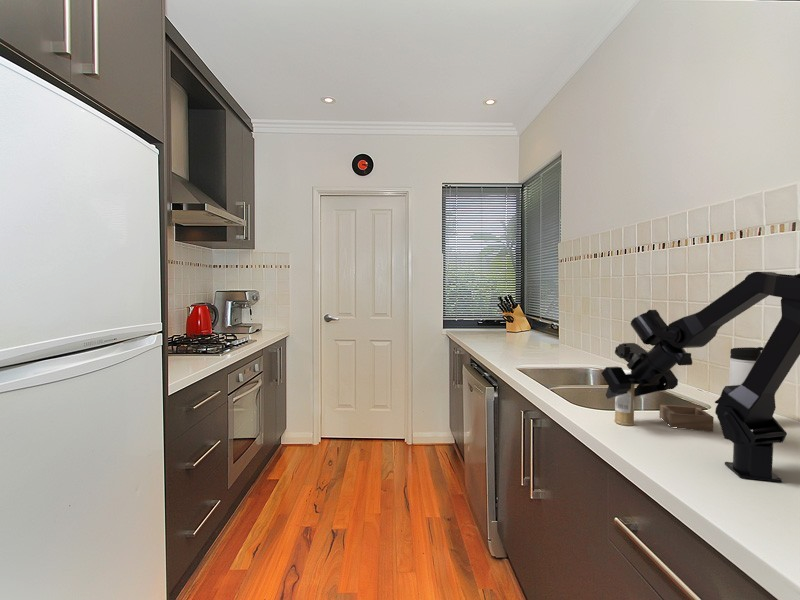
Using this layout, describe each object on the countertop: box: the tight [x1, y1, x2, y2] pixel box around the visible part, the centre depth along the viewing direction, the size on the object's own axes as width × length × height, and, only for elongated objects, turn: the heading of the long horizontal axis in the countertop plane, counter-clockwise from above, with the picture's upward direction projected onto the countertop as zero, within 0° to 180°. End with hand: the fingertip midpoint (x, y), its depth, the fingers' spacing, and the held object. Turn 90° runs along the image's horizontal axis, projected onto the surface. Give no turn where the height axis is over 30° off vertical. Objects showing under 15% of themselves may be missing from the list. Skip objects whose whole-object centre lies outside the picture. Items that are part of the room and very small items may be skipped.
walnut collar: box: [659, 404, 714, 432], centre depth 110 cm, size 9×9×4 cm
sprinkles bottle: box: [613, 369, 635, 427], centre depth 110 cm, size 5×5×13 cm
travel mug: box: [728, 346, 764, 386], centre depth 111 cm, size 6×7×20 cm
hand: (620, 396), depth 111 cm, fingers open, 8 cm apart
